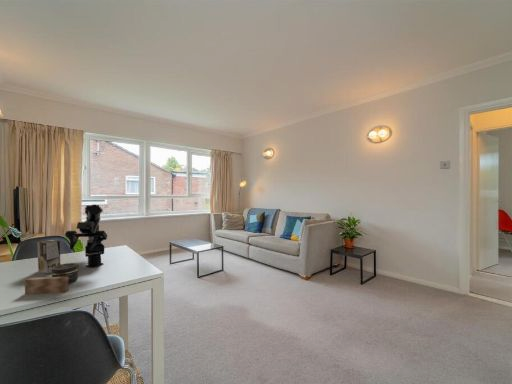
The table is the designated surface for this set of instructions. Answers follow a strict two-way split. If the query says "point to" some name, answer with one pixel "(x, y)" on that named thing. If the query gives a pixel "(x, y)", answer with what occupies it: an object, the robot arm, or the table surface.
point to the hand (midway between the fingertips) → (80, 249)
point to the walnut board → (46, 285)
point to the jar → (66, 271)
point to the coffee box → (48, 255)
